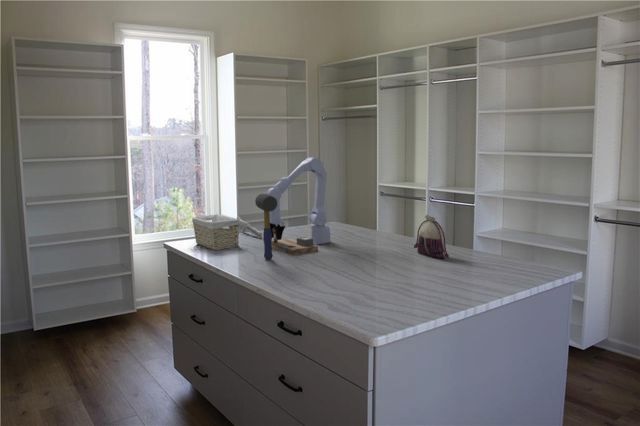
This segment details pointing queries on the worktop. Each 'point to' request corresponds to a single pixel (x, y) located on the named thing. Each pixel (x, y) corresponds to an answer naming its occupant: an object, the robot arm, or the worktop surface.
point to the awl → (274, 235)
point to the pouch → (431, 239)
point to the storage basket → (216, 231)
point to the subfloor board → (292, 247)
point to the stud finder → (304, 241)
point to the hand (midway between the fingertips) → (275, 238)
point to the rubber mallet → (267, 221)
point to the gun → (248, 228)
